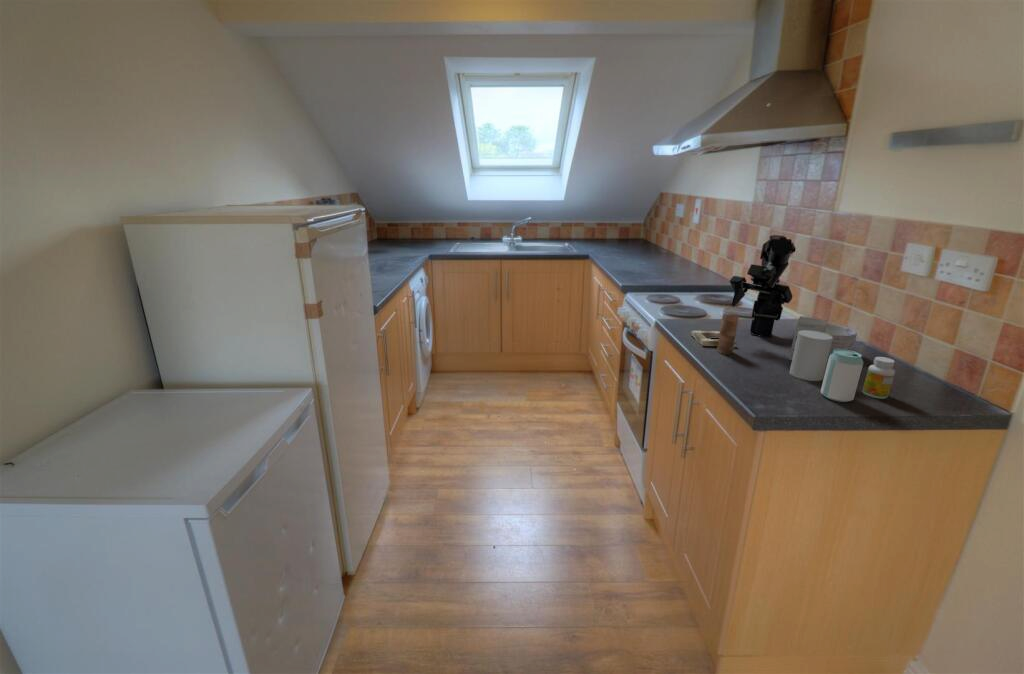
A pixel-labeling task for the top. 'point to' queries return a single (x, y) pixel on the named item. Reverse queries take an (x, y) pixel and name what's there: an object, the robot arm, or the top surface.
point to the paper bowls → (840, 337)
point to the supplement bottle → (879, 378)
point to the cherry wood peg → (727, 332)
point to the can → (842, 375)
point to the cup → (810, 355)
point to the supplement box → (807, 324)
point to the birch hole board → (702, 339)
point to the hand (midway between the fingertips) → (745, 309)
